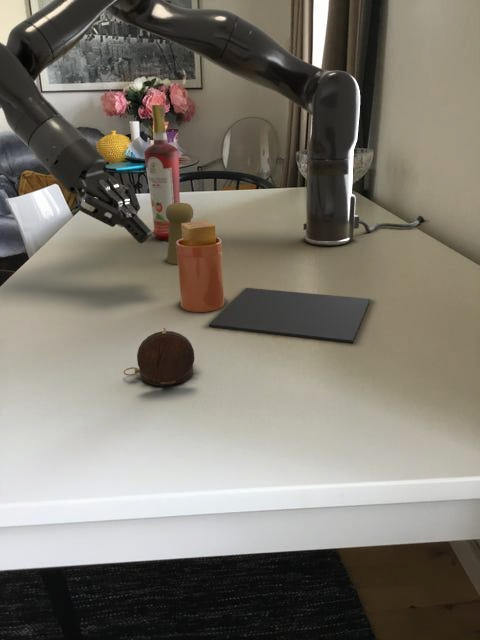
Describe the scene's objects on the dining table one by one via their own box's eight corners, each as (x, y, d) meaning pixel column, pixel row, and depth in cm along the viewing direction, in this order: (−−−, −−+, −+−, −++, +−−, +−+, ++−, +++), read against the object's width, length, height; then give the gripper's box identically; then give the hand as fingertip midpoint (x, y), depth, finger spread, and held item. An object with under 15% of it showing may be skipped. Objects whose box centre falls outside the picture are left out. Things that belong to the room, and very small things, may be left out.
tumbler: (215, 294, 91) (213, 233, 88) (230, 308, 86) (227, 243, 82) (175, 300, 89) (171, 238, 85) (187, 315, 83) (183, 249, 80)
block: (208, 246, 87) (206, 220, 85) (216, 252, 83) (215, 225, 82) (182, 249, 85) (180, 223, 84) (190, 255, 82) (188, 228, 80)
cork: (193, 265, 107) (189, 206, 103) (163, 264, 108) (158, 206, 104) (202, 256, 112) (198, 200, 108) (172, 255, 114) (168, 200, 109)
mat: (209, 326, 79) (208, 324, 79) (246, 290, 93) (246, 287, 93) (352, 343, 73) (352, 340, 72) (369, 301, 86) (370, 298, 86)
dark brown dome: (190, 360, 69) (186, 304, 67) (197, 391, 62) (192, 330, 59) (124, 366, 68) (117, 310, 66) (123, 399, 61) (115, 337, 58)
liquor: (145, 240, 126) (133, 105, 115) (162, 232, 132) (151, 104, 121) (175, 242, 123) (164, 105, 112) (190, 234, 129) (181, 103, 119)
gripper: (80, 167, 93) (153, 244, 94) (27, 179, 82) (111, 266, 83) (104, 133, 90) (180, 213, 90) (52, 141, 78) (139, 232, 79)
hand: (147, 238), depth 86 cm, fingers closed
